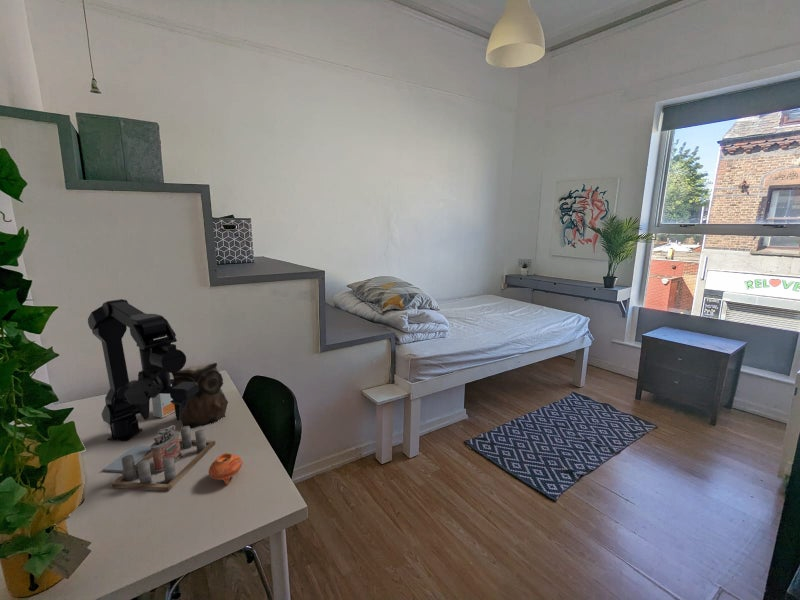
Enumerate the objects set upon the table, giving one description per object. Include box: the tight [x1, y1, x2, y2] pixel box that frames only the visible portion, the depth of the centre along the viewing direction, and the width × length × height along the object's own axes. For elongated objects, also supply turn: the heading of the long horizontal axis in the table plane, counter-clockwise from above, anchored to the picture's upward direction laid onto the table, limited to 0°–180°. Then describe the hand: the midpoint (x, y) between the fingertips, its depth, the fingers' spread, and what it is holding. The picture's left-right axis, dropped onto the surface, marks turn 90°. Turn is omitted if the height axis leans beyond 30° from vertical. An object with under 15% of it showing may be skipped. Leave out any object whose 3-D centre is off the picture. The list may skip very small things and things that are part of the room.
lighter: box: [150, 424, 182, 474], centre depth 100 cm, size 8×3×10 cm, turn 168°
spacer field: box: [110, 426, 216, 492], centre depth 100 cm, size 15×20×6 cm
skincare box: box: [151, 377, 175, 419], centre depth 126 cm, size 6×4×12 cm
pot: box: [208, 452, 243, 486], centre depth 95 cm, size 8×8×7 cm
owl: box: [171, 362, 229, 430], centre depth 121 cm, size 13×13×20 cm
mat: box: [102, 444, 152, 473], centre depth 102 cm, size 6×11×1 cm, turn 175°
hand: (162, 419), depth 98 cm, fingers open, 9 cm apart
